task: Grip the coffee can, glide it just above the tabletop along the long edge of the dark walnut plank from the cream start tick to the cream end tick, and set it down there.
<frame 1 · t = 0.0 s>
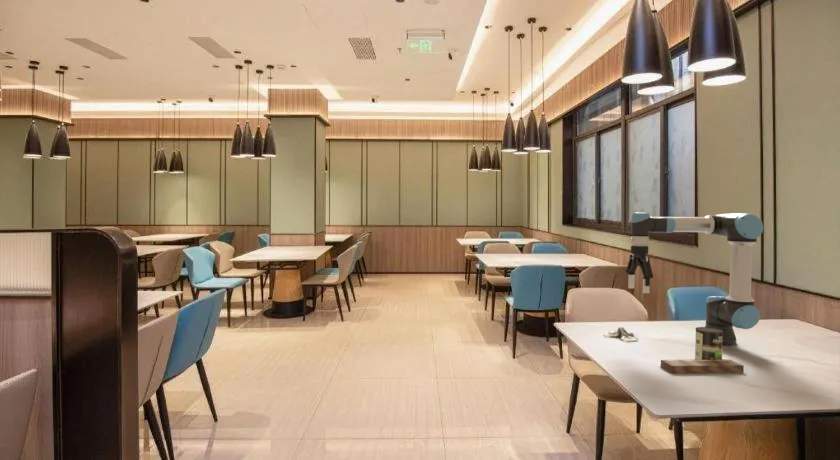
hand: (638, 290, 225), 28 cm above the table, tool pointing down, fingers open, 13 cm apart
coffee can: (708, 362, 209), on the table
walnut plank: (701, 369, 198), on the table
cloth: (623, 337, 251), on the table
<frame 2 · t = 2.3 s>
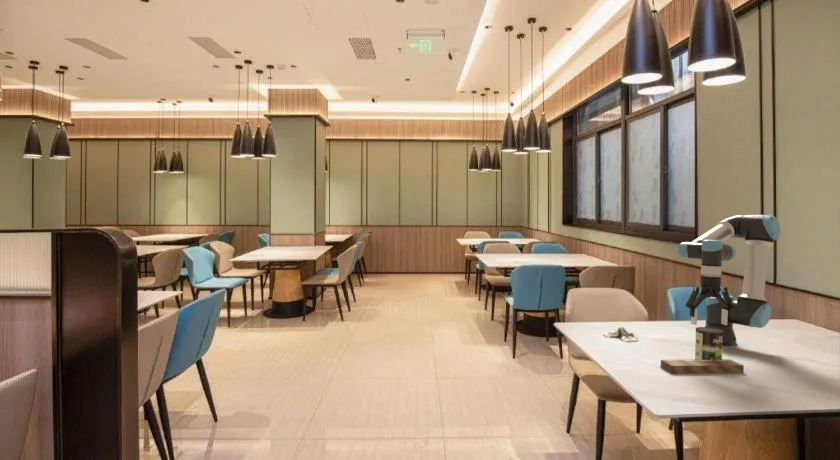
hand: (709, 324, 208), 16 cm above the table, tool pointing down, fingers open, 13 cm apart
nothing on the table moved.
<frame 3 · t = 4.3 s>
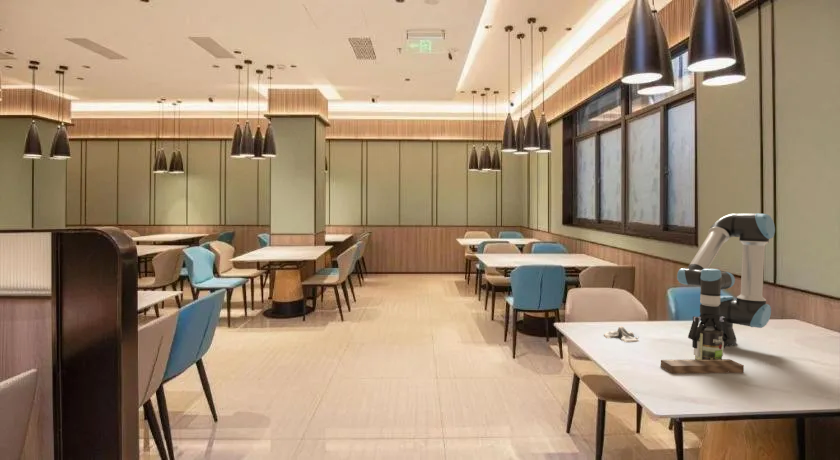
hand: (708, 355, 209), 3 cm above the table, tool pointing down, fingers closed on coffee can, 10 cm apart
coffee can: (708, 362, 209), on the table, touching gripper
everything else where it was.
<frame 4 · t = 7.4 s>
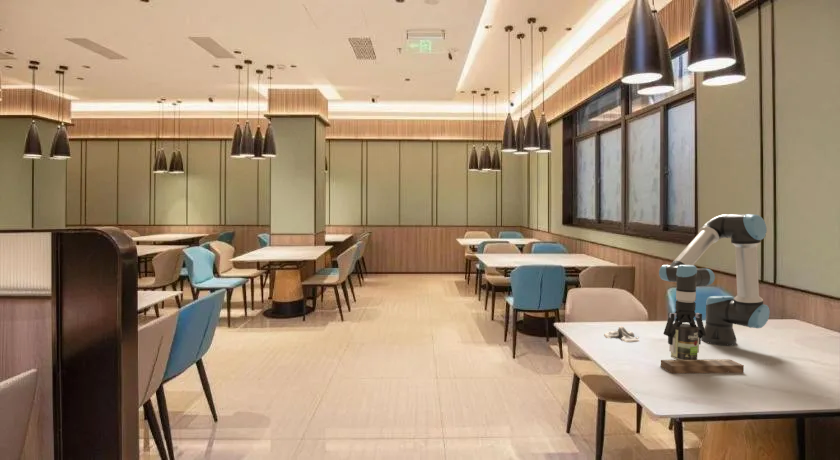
hand: (684, 351, 208), 4 cm above the table, tool pointing down, fingers closed on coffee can, 10 cm apart
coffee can: (683, 358, 208), point 1 cm above the table, touching gripper
everything else where it was.
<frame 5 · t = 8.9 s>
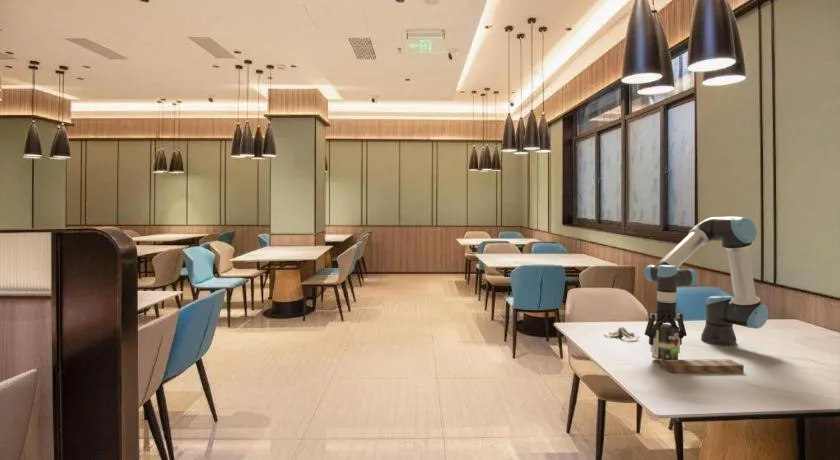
hand: (665, 352, 208), 4 cm above the table, tool pointing down, fingers closed on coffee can, 10 cm apart
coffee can: (664, 359, 208), point 1 cm above the table, touching gripper
everything else where it was.
when the fingers open (4 cm above the table, at t = 10.4 s): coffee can stays where it is, on the table.
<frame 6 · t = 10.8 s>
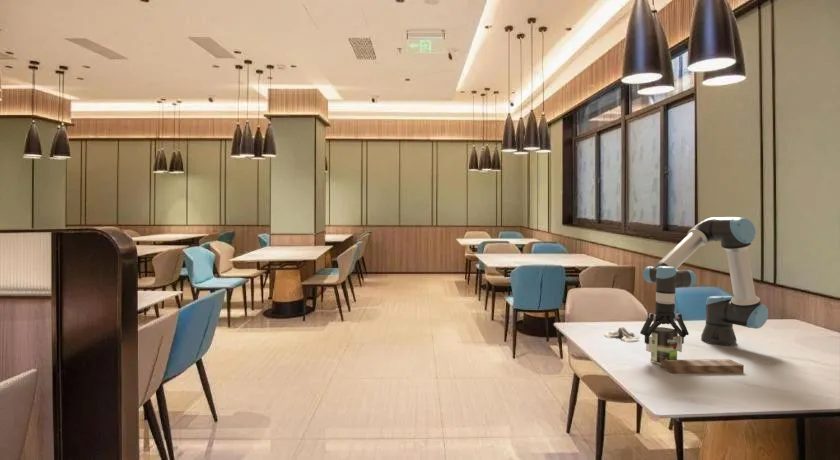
hand: (663, 351, 208), 5 cm above the table, tool pointing down, fingers open, 13 cm apart
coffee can: (663, 362, 208), on the table
everything else where it was.
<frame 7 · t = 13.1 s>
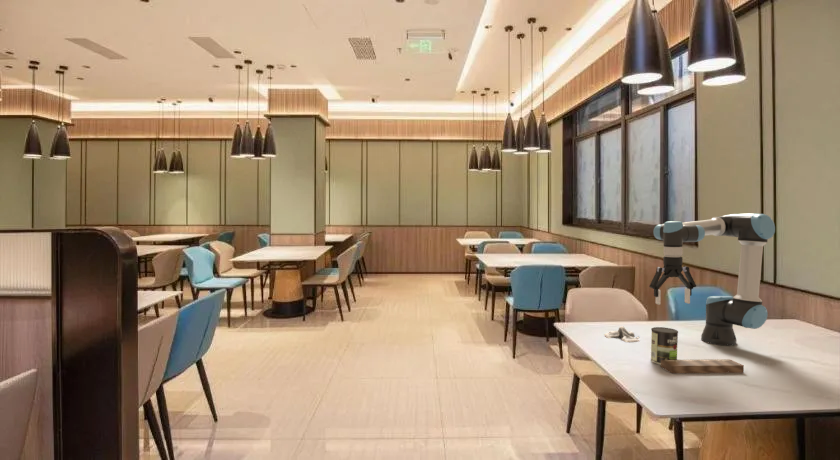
hand: (672, 303, 214), 24 cm above the table, tool pointing down, fingers open, 13 cm apart
nothing on the table moved.
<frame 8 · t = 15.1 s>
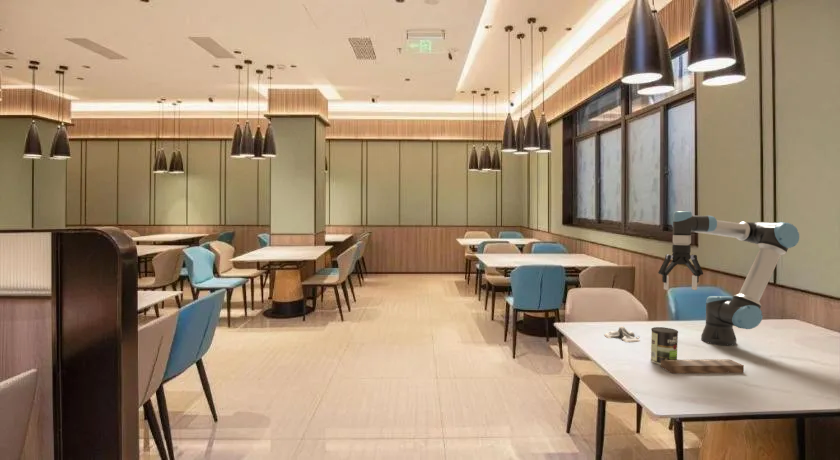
hand: (680, 289, 225), 29 cm above the table, tool pointing down, fingers open, 13 cm apart
nothing on the table moved.
at the end: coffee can inside the target area (0.1 cm from its centre), on the table; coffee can tilted 0°; the gripper is holding nothing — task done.
